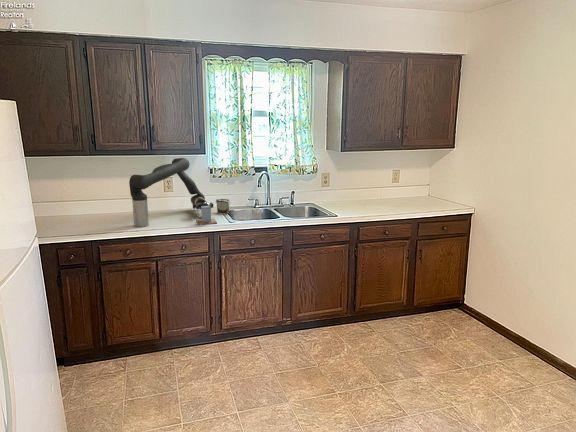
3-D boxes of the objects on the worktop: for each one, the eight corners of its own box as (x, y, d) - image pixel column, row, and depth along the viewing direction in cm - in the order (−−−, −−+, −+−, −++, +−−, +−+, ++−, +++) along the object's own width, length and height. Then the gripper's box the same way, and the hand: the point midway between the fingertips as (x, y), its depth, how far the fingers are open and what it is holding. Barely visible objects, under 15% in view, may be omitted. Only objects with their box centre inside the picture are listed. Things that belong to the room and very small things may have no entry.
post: (199, 224, 289) (198, 213, 287) (196, 220, 300) (196, 209, 298) (217, 223, 293) (216, 212, 291) (213, 219, 304) (213, 208, 302)
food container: (234, 213, 325) (233, 199, 323) (228, 214, 320) (228, 201, 318) (221, 211, 332) (221, 198, 330) (216, 212, 327) (215, 199, 325)
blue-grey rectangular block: (202, 222, 292) (202, 207, 290) (201, 220, 298) (201, 206, 295) (211, 221, 294) (210, 207, 292) (209, 219, 299) (209, 205, 297)
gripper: (190, 198, 314) (193, 202, 299) (210, 197, 319) (214, 201, 304) (191, 208, 316) (194, 213, 301) (210, 207, 320) (214, 212, 305)
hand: (204, 207), depth 302 cm, fingers open, 8 cm apart
